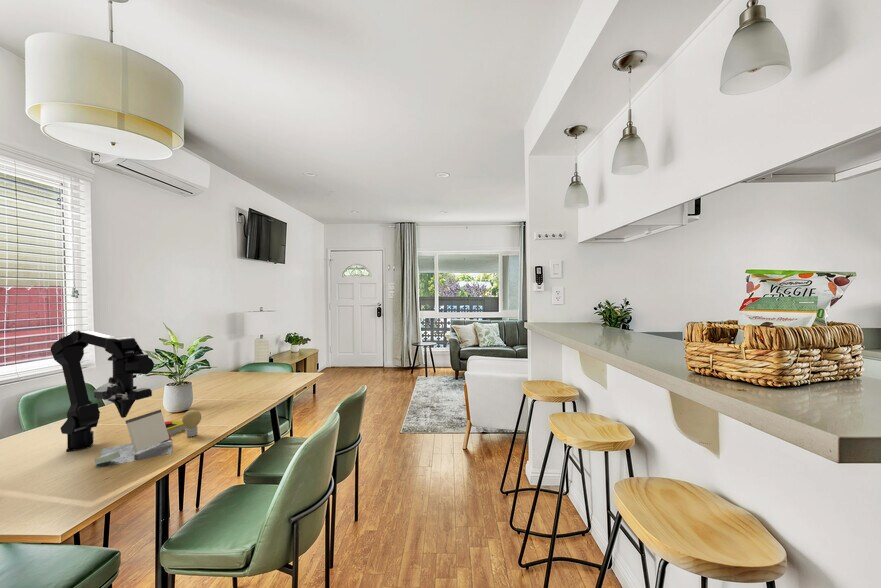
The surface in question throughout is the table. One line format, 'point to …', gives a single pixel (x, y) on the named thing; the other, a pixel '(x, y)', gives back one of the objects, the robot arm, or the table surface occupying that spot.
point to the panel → (129, 454)
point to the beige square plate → (147, 430)
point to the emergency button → (174, 426)
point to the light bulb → (191, 422)
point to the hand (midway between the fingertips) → (123, 417)
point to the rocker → (107, 457)
